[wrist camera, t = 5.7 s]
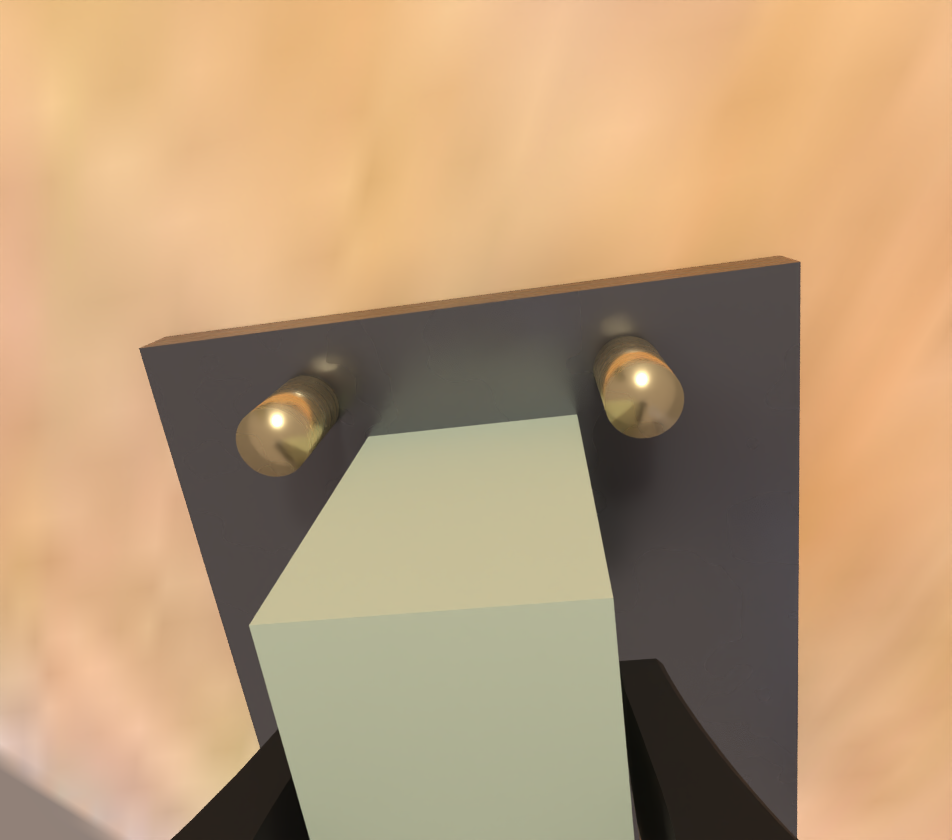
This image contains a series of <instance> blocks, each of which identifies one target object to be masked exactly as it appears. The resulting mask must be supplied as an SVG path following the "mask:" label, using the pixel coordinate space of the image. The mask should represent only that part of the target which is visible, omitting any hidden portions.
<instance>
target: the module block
mask: <svg viewBox="0 0 952 840" xmlns="http://www.w3.org/2000/svg"><path fill="white" fill-rule="evenodd" d="M249 627H250V631H251V634H252V638H253V641H254V645H255V648H256V652H257V655H258V659H259V662H260V666H261V669H262V673H263V677H264V680H265V684H266V687H267V691H268V694H269V698H270V701H271V705H272V708H273V712H274V715H275V719H276V722H277V726H278V729H279V733H280V736H281V740H282V743H283V747H284V750H285V754H286V757H287V761H288V764H289V768H290V771H291V775H292V778H293V782H294V785H295V789H296V792H297V796H298V799H299V803H300V807H301V810H302V814H303V817H304V821H305V824H306V828H307V831H308V835H309V838H310V840H634V829H633V818H632V806H631V795H630V783H629V772H628V760H627V749H626V737H625V726H624V714H623V703H622V691H621V680H620V668H619V657H618V645H617V634H616V622H615V611H614V599H613V593H612V588H611V583H610V578H609V573H608V568H607V563H606V558H605V553H604V548H603V543H602V538H601V533H600V528H599V523H598V518H597V513H596V508H595V503H594V498H593V493H592V487H591V482H590V477H589V472H588V467H587V462H586V457H585V452H584V447H583V442H582V437H581V432H580V427H579V422H578V417H577V414H576V415H567V416H558V417H548V418H539V419H529V420H520V421H511V422H501V423H492V424H482V425H473V426H464V427H454V428H445V429H435V430H426V431H417V432H407V433H398V434H388V435H379V436H370V437H368V438H367V440H366V441H365V443H364V444H363V446H362V447H361V449H360V451H359V452H358V454H357V455H356V457H355V458H354V460H353V462H352V463H351V465H350V466H349V468H348V470H347V471H346V473H345V474H344V476H343V477H342V479H341V481H340V482H339V484H338V485H337V487H336V489H335V490H334V492H333V493H332V495H331V496H330V498H329V500H328V501H327V503H326V504H325V506H324V508H323V509H322V511H321V512H320V514H319V515H318V517H317V519H316V520H315V522H314V523H313V525H312V526H311V528H310V530H309V531H308V533H307V534H306V536H305V538H304V539H303V541H302V542H301V544H300V545H299V547H298V549H297V550H296V552H295V553H294V555H293V557H292V558H291V560H290V561H289V563H288V564H287V566H286V568H285V569H284V571H283V572H282V574H281V575H280V577H279V579H278V580H277V582H276V583H275V585H274V587H273V588H272V590H271V591H270V593H269V594H268V596H267V598H266V599H265V601H264V602H263V604H262V606H261V607H260V609H259V610H258V612H257V613H256V615H255V617H254V618H253V620H252V621H251V623H250V625H249Z"/></svg>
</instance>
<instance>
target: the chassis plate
mask: <svg viewBox="0 0 952 840" xmlns="http://www.w3.org/2000/svg"><path fill="white" fill-rule="evenodd" d="M139 349H140V353H141V356H142V359H143V363H144V366H145V369H146V372H147V376H148V379H149V382H150V386H151V389H152V392H153V396H154V399H155V402H156V405H157V409H158V412H159V415H160V419H161V422H162V425H163V429H164V432H165V435H166V438H167V442H168V445H169V448H170V452H171V455H172V458H173V462H174V465H175V468H176V471H177V475H178V478H179V481H180V485H181V488H182V491H183V495H184V498H185V501H186V504H187V508H188V511H189V514H190V518H191V521H192V524H193V528H194V531H195V534H196V537H197V541H198V544H199V547H200V551H201V554H202V557H203V560H204V564H205V567H206V570H207V574H208V577H209V580H210V584H211V587H212V590H213V593H214V597H215V600H216V603H217V607H218V610H219V613H220V617H221V620H222V623H223V626H224V630H225V633H226V636H227V640H228V643H229V646H230V650H231V653H232V656H233V659H234V663H235V666H236V669H237V673H238V676H239V679H240V683H241V686H242V689H243V692H244V696H245V699H246V702H247V706H248V709H249V712H250V716H251V719H252V722H253V725H254V729H255V732H256V735H257V739H258V742H259V745H260V748H261V747H262V746H263V745H264V744H265V743H266V742H267V741H268V739H269V738H270V737H271V736H272V735H273V734H274V733H275V732H276V730H277V729H278V726H277V722H276V719H275V715H274V712H273V708H272V705H271V701H270V698H269V694H268V691H267V687H266V684H265V680H264V677H263V673H262V669H261V666H260V662H259V659H258V655H257V652H256V648H255V645H254V641H253V638H252V634H251V631H250V627H249V625H250V623H251V621H252V620H253V618H254V617H255V615H256V613H257V612H258V610H259V609H260V607H261V606H262V604H263V602H264V601H265V599H266V598H267V596H268V594H269V593H270V591H271V590H272V588H273V587H274V585H275V583H276V582H277V580H278V579H279V577H280V575H281V574H282V572H283V571H284V569H285V568H286V566H287V564H288V563H289V561H290V560H291V558H292V557H293V555H294V553H295V552H296V550H297V549H298V547H299V545H300V544H301V542H302V541H303V539H304V538H305V536H306V534H307V533H308V531H309V530H310V528H311V526H312V525H313V523H314V522H315V520H316V519H317V517H318V515H319V514H320V512H321V511H322V509H323V508H324V506H325V504H326V503H327V501H328V500H329V498H330V496H331V495H332V493H333V492H334V490H335V489H336V487H337V485H338V484H339V482H340V481H341V479H342V477H343V476H344V474H345V473H346V471H347V470H348V468H349V466H350V465H351V463H352V462H353V460H354V458H355V457H356V455H357V454H358V452H359V451H360V449H361V447H362V446H363V444H364V443H365V441H366V440H367V438H368V437H370V436H379V435H388V434H398V433H407V432H417V431H426V430H435V429H445V428H454V427H464V426H473V425H482V424H492V423H501V422H511V421H520V420H529V419H539V418H548V417H558V416H567V415H576V414H577V417H578V422H579V427H580V432H581V437H582V442H583V447H584V452H585V457H586V462H587V467H588V472H589V477H590V482H591V487H592V493H593V498H594V503H595V508H596V513H597V518H598V523H599V528H600V533H601V538H602V543H603V548H604V553H605V558H606V563H607V568H608V573H609V578H610V583H611V588H612V593H613V599H614V611H615V622H616V634H617V645H618V657H619V661H625V660H640V659H655V658H656V659H657V660H659V661H660V662H661V663H662V664H663V665H664V667H665V669H666V671H667V673H668V674H669V676H670V678H671V680H672V681H673V683H674V685H675V686H676V688H677V690H678V691H679V693H680V694H681V696H682V697H683V699H684V701H685V702H686V704H687V705H688V706H689V708H690V709H691V711H692V712H693V714H694V715H695V717H696V718H697V720H698V721H699V722H700V724H701V725H702V727H703V728H704V729H705V731H706V732H707V733H708V735H709V736H710V737H711V739H712V740H713V741H714V743H715V744H716V745H717V746H718V748H719V749H720V750H721V752H722V753H723V754H724V756H725V757H726V758H727V759H728V761H729V762H730V763H731V764H732V766H733V767H734V768H735V769H736V771H737V772H738V773H739V774H740V776H741V777H742V778H743V779H744V780H745V781H746V783H747V784H748V785H749V786H750V787H751V788H752V790H753V791H754V792H755V793H756V794H757V795H758V797H759V798H760V799H761V800H762V801H763V802H764V803H765V805H766V806H767V807H768V808H769V809H770V810H771V811H772V812H773V813H774V815H775V816H776V817H777V818H778V819H779V820H780V821H781V822H782V823H783V824H784V825H785V826H786V827H787V828H788V830H789V831H790V832H791V833H792V834H793V835H794V836H795V837H796V838H797V739H798V576H799V413H800V262H799V261H796V260H793V259H790V258H786V257H783V256H774V257H767V258H759V259H752V260H744V261H736V262H729V263H721V264H714V265H706V266H699V267H691V268H684V269H676V270H668V271H661V272H653V273H646V274H638V275H631V276H623V277H615V278H608V279H600V280H593V281H585V282H578V283H570V284H563V285H555V286H547V287H540V288H532V289H525V290H517V291H510V292H502V293H495V294H487V295H479V296H472V297H464V298H457V299H449V300H442V301H434V302H426V303H419V304H411V305H404V306H396V307H389V308H381V309H374V310H366V311H358V312H351V313H343V314H336V315H328V316H321V317H313V318H305V319H298V320H290V321H283V322H275V323H268V324H260V325H253V326H245V327H237V328H230V329H222V330H215V331H207V332H200V333H192V334H185V335H177V336H169V337H164V338H162V339H160V340H157V341H155V342H153V343H150V344H148V345H146V346H143V347H141V348H139ZM627 760H628V759H627ZM628 772H629V766H628ZM629 783H630V795H631V806H632V818H633V829H634V840H641V837H640V832H639V828H638V824H637V819H636V812H635V806H634V799H633V793H632V786H631V779H630V773H629Z"/></svg>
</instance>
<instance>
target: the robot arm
mask: <svg viewBox="0 0 952 840" xmlns="http://www.w3.org/2000/svg"><path fill="white" fill-rule="evenodd" d="M619 668H620V680H621V691H622V703H623V714H624V726H625V737H626V749H627V759H628V766H629V773H630V779H631V786H632V793H633V799H634V806H635V812H636V819H637V824H638V828H639V832H640V837H641V840H798V839H797V838H796V837H795V836H794V835H793V834H792V833H791V832H790V831H789V830H788V828H787V827H786V826H785V825H784V824H783V823H782V822H781V821H780V820H779V819H778V818H777V817H776V816H775V815H774V813H773V812H772V811H771V810H770V809H769V808H768V807H767V806H766V805H765V803H764V802H763V801H762V800H761V799H760V798H759V797H758V795H757V794H756V793H755V792H754V791H753V790H752V788H751V787H750V786H749V785H748V784H747V783H746V781H745V780H744V779H743V778H742V777H741V776H740V774H739V773H738V772H737V771H736V769H735V768H734V767H733V766H732V764H731V763H730V762H729V761H728V759H727V758H726V757H725V756H724V754H723V753H722V752H721V750H720V749H719V748H718V746H717V745H716V744H715V743H714V741H713V740H712V739H711V737H710V736H709V735H708V733H707V732H706V731H705V729H704V728H703V727H702V725H701V724H700V722H699V721H698V720H697V718H696V717H695V715H694V714H693V712H692V711H691V709H690V708H689V706H688V705H687V704H686V702H685V701H684V699H683V697H682V696H681V694H680V693H679V691H678V690H677V688H676V686H675V685H674V683H673V681H672V680H671V678H670V676H669V674H668V673H667V671H666V669H665V667H664V665H663V664H662V663H661V662H660V661H659V660H657V659H656V658H655V659H640V660H625V661H619ZM171 840H310V838H309V835H308V831H307V828H306V824H305V821H304V817H303V814H302V810H301V807H300V803H299V799H298V796H297V792H296V789H295V785H294V782H293V778H292V775H291V771H290V768H289V764H288V761H287V757H286V754H285V750H284V747H283V743H282V740H281V736H280V733H279V729H277V730H276V732H275V733H274V734H273V735H272V736H271V737H270V738H269V739H268V741H267V742H266V743H265V744H264V745H263V746H262V747H261V748H260V749H259V750H258V752H257V753H256V754H255V755H254V756H253V757H252V758H251V759H250V760H249V761H248V763H247V764H246V765H245V766H244V767H243V768H242V769H241V770H240V771H239V772H238V773H237V775H236V776H235V777H234V778H233V779H232V780H231V781H230V782H229V783H228V784H227V785H226V786H225V787H224V788H223V789H222V790H221V791H220V792H219V793H218V794H217V795H216V796H215V797H214V798H213V799H212V800H211V801H210V802H209V803H208V804H207V805H206V806H205V807H204V808H203V809H202V810H201V811H200V812H199V813H198V814H197V815H196V816H195V817H194V818H193V819H192V820H191V821H190V822H189V823H188V824H187V825H186V826H185V827H184V828H183V829H182V830H181V831H180V832H179V833H177V834H176V835H175V836H174V837H173V838H172V839H171Z"/></svg>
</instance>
